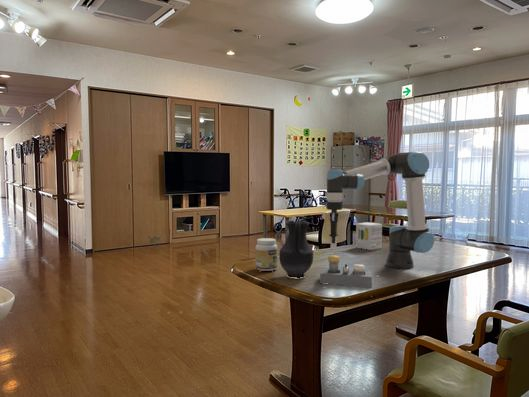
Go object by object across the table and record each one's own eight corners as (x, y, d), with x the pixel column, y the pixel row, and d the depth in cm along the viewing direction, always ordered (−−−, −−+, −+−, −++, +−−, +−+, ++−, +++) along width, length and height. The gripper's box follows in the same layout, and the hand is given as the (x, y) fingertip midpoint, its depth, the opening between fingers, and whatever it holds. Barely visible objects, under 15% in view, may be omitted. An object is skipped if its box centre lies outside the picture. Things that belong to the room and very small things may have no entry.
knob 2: (364, 279, 193) (364, 264, 193) (364, 282, 188) (364, 267, 188) (353, 278, 195) (353, 263, 194) (352, 281, 189) (353, 266, 189)
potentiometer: (349, 273, 191) (349, 263, 191) (348, 274, 188) (348, 265, 188) (343, 272, 192) (343, 263, 192) (342, 274, 189) (342, 264, 189)
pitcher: (311, 273, 211) (312, 217, 209) (315, 283, 190) (315, 222, 188) (279, 272, 212) (279, 217, 210) (279, 283, 191) (279, 222, 189)
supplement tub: (270, 273, 210) (270, 242, 209) (251, 270, 216) (251, 240, 215) (281, 268, 221) (281, 238, 220) (262, 266, 227) (262, 237, 226)
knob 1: (339, 270, 196) (339, 255, 196) (338, 273, 191) (339, 257, 190) (328, 269, 197) (328, 255, 197) (327, 272, 192) (327, 257, 192)
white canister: (355, 247, 283) (355, 223, 282) (366, 245, 291) (367, 222, 290) (370, 250, 273) (370, 225, 271) (382, 248, 281) (382, 223, 279)
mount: (371, 280, 196) (371, 270, 195) (371, 287, 184) (371, 276, 184) (322, 277, 202) (322, 267, 201) (320, 283, 190) (320, 273, 190)
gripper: (327, 200, 199) (327, 246, 200) (325, 201, 187) (324, 251, 188) (343, 200, 197) (342, 247, 199) (341, 202, 185) (340, 252, 186)
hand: (333, 249), depth 193 cm, fingers closed
